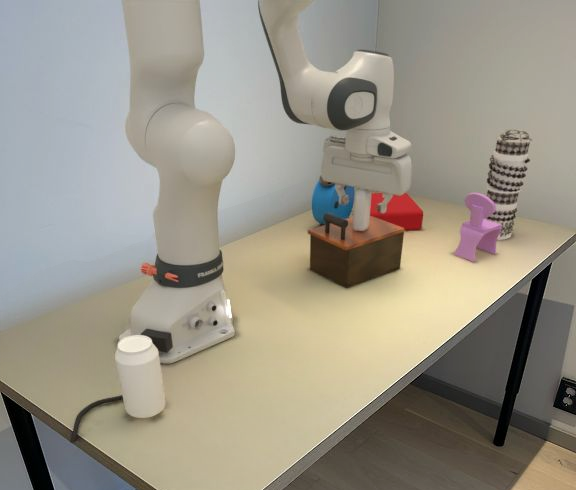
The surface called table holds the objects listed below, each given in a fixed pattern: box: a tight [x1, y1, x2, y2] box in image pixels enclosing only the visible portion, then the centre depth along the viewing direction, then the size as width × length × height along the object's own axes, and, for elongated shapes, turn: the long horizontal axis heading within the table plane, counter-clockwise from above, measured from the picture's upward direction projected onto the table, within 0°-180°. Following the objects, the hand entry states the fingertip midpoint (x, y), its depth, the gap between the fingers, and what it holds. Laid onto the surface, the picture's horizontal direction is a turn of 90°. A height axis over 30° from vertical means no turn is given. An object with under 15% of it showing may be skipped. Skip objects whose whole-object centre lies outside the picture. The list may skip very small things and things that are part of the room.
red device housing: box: [370, 192, 424, 231], centre depth 160 cm, size 18×14×5 cm
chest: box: [309, 231, 405, 289], centre depth 132 cm, size 17×13×9 cm
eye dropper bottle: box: [352, 187, 372, 231], centre depth 126 cm, size 4×6×12 cm
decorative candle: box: [485, 129, 533, 241], centre depth 146 cm, size 9×9×25 cm
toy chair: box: [452, 192, 502, 263], centre depth 137 cm, size 8×9×15 cm
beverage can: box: [114, 335, 167, 419], centre depth 87 cm, size 6×6×12 cm
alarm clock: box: [311, 174, 356, 227], centre depth 154 cm, size 13×6×15 cm, turn 146°
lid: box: [307, 213, 405, 250], centre depth 128 cm, size 17×13×5 cm
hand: (362, 208), depth 127 cm, fingers open, 8 cm apart
